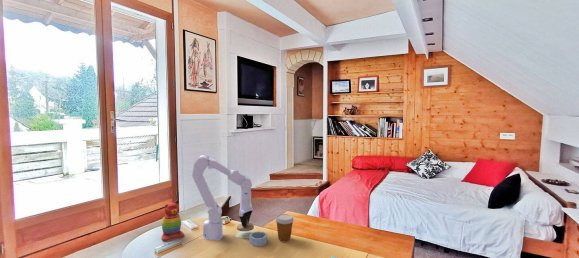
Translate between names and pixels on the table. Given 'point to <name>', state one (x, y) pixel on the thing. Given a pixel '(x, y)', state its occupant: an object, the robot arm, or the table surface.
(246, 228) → the lid
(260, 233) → the bowl
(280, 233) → the disposable coffee cup
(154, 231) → the table surface
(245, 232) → the mat
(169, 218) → the stacking bear
